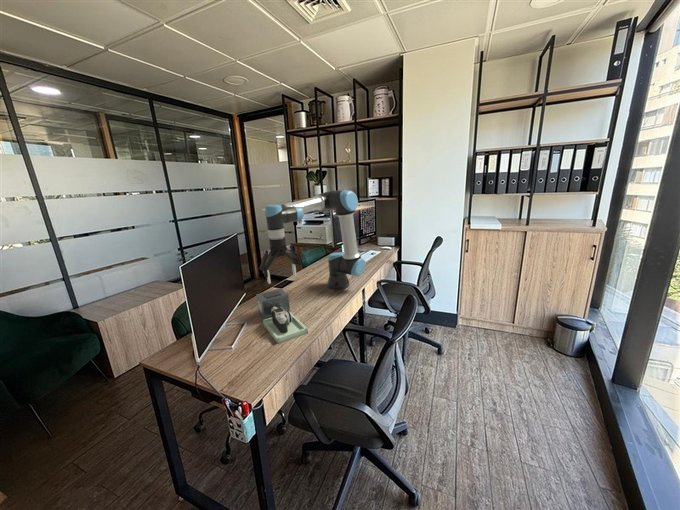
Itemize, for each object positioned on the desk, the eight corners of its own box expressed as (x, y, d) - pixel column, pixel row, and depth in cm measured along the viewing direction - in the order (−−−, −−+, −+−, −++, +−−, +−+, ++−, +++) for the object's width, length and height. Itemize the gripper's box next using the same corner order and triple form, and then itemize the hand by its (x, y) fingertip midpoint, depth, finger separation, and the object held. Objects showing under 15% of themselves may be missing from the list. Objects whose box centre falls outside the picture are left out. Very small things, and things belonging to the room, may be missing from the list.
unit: (284, 307, 162) (282, 287, 159) (292, 314, 152) (290, 293, 149) (258, 314, 154) (255, 293, 151) (264, 323, 144) (261, 301, 141)
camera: (297, 330, 134) (295, 311, 131) (280, 335, 130) (278, 316, 127) (286, 317, 147) (284, 300, 144) (270, 321, 143) (268, 304, 140)
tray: (290, 316, 150) (289, 311, 150) (307, 333, 132) (307, 328, 132) (263, 324, 143) (262, 320, 142) (277, 343, 125) (277, 339, 124)
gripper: (297, 232, 141) (301, 271, 147) (248, 241, 128) (255, 283, 134) (304, 234, 135) (308, 275, 141) (253, 243, 122) (260, 288, 128)
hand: (282, 279), depth 137 cm, fingers open, 13 cm apart
